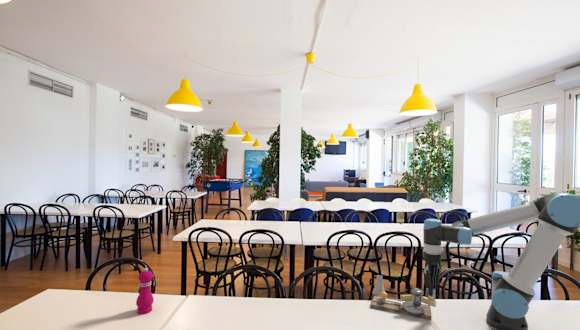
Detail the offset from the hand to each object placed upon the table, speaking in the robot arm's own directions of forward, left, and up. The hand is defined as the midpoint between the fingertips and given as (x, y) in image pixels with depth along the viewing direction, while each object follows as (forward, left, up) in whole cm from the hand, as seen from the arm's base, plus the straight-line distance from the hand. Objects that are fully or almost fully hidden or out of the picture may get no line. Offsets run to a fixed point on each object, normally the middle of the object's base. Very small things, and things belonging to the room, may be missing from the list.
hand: (431, 301), depth 139 cm
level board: (+14, -2, -7) cm, 15 cm away
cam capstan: (+5, -1, -5) cm, 7 cm away
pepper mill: (+122, +55, -7) cm, 134 cm away
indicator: (+18, -2, -5) cm, 19 cm away
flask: (+25, -13, -7) cm, 29 cm away
